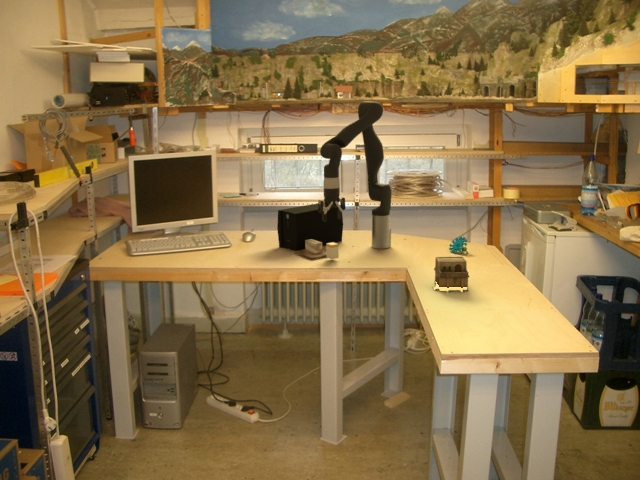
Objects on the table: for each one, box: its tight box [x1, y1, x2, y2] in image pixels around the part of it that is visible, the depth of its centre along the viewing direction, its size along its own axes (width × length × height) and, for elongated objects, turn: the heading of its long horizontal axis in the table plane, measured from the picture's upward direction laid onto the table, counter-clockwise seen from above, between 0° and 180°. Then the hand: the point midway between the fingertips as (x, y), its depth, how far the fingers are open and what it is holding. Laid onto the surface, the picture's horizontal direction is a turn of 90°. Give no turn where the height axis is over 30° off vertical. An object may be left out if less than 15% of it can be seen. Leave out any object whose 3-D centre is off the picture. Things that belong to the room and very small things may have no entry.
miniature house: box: [433, 256, 470, 288], centre depth 251 cm, size 15×14×11 cm
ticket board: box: [293, 239, 327, 261], centre depth 305 cm, size 16×16×6 cm
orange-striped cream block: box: [325, 242, 340, 260], centre depth 294 cm, size 4×5×7 cm
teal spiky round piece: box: [448, 235, 469, 254], centre depth 306 cm, size 11×6×10 cm
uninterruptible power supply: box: [276, 202, 344, 252], centre depth 324 cm, size 16×34×20 cm, turn 131°
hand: (332, 220), depth 290 cm, fingers open, 8 cm apart
